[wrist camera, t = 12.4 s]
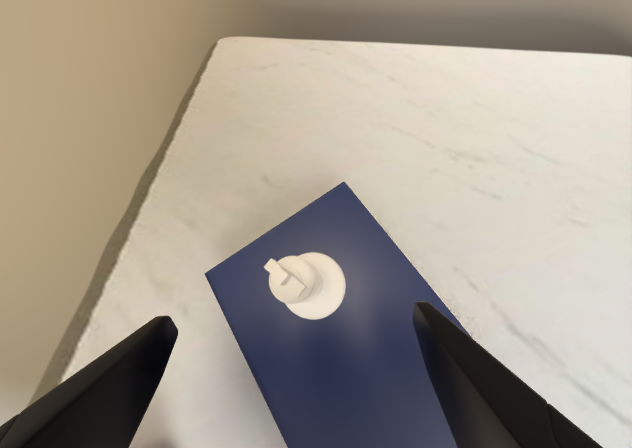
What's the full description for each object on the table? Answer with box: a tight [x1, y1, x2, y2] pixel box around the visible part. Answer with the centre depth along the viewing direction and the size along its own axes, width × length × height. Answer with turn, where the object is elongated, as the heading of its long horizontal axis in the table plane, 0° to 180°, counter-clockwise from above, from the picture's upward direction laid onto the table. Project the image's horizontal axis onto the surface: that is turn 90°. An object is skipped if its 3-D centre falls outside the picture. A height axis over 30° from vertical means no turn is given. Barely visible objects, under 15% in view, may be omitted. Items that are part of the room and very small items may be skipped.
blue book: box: [205, 182, 472, 448], centre depth 17 cm, size 19×14×3 cm
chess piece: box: [264, 252, 346, 320], centre depth 12 cm, size 5×5×10 cm
